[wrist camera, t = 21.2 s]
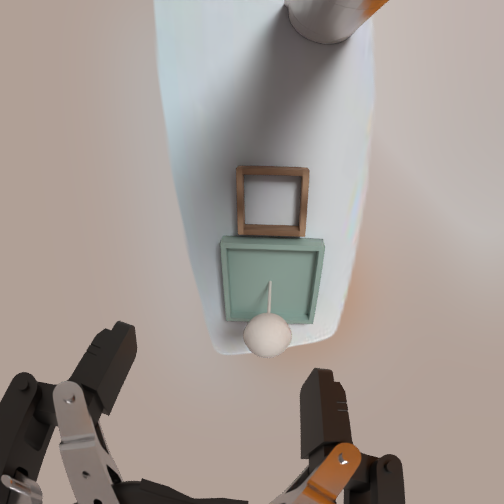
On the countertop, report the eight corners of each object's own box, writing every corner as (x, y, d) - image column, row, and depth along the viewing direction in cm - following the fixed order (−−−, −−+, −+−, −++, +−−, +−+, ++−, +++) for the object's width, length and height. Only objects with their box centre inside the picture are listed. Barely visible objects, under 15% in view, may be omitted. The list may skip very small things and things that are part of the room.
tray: (223, 235, 42) (220, 243, 40) (322, 238, 41) (325, 246, 38) (228, 311, 49) (226, 320, 47) (311, 314, 48) (312, 323, 46)
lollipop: (288, 265, 42) (291, 334, 29) (290, 295, 45) (292, 366, 32) (249, 267, 43) (237, 336, 30) (253, 297, 46) (244, 367, 33)
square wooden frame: (238, 165, 36) (236, 168, 35) (307, 167, 36) (309, 170, 34) (239, 228, 41) (237, 234, 39) (303, 231, 40) (304, 236, 38)
